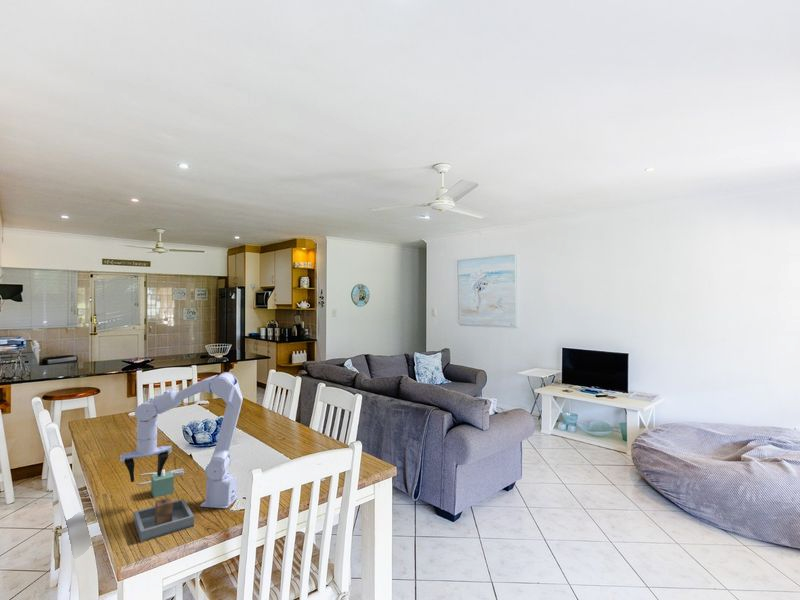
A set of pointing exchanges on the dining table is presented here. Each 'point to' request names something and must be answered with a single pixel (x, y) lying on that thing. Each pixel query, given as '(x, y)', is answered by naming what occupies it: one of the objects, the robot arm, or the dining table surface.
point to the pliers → (174, 472)
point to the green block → (162, 484)
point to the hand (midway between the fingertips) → (145, 478)
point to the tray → (151, 530)
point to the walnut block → (163, 511)
